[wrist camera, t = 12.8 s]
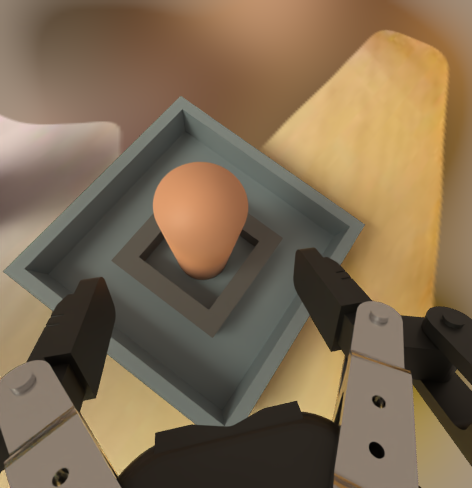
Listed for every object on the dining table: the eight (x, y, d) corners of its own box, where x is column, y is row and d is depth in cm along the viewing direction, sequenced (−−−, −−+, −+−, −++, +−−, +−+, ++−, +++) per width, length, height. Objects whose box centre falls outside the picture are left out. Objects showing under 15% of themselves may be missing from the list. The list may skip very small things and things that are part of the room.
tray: (36, 278, 23) (2, 271, 19) (184, 125, 28) (180, 96, 25) (224, 425, 22) (227, 449, 18) (342, 237, 27) (365, 224, 23)
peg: (167, 260, 24) (132, 211, 12) (198, 222, 25) (193, 145, 13) (207, 290, 24) (211, 270, 12) (237, 250, 25) (265, 197, 13)
